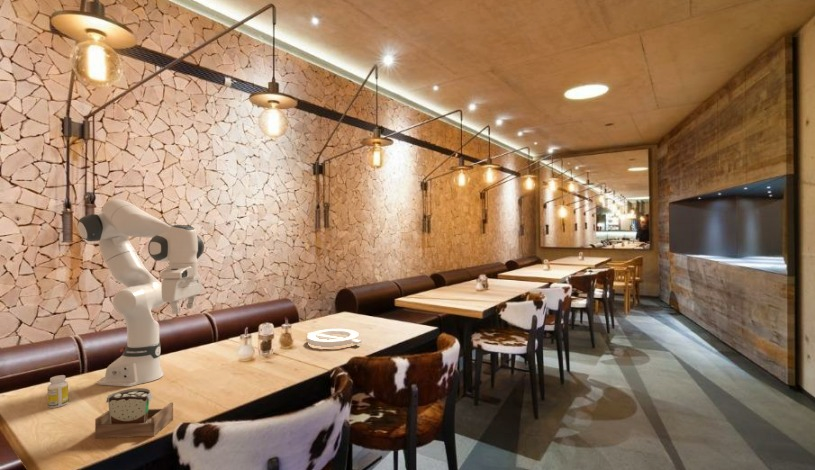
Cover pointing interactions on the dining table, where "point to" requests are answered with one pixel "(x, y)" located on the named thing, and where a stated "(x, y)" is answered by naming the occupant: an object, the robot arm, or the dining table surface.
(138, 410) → the food container
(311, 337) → the white circle with bar
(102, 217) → the robot arm
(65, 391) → the supplement bottle
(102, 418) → the wooden tray
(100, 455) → the dining table surface
